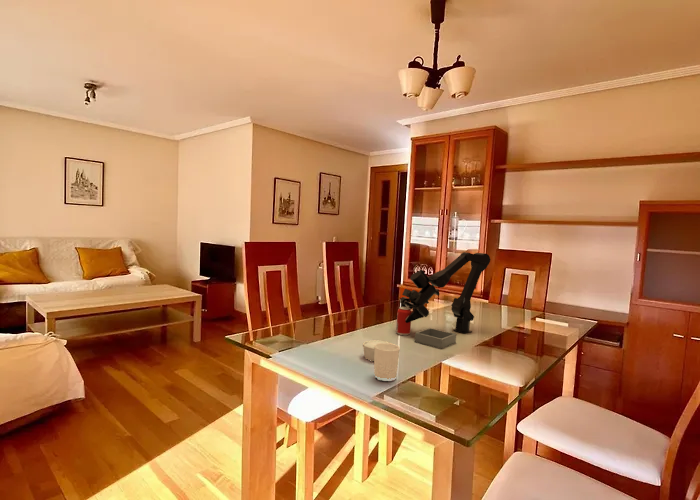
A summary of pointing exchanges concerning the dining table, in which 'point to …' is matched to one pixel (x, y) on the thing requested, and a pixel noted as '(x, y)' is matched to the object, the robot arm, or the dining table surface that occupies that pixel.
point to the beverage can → (403, 321)
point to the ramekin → (371, 348)
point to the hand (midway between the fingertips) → (401, 319)
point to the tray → (435, 338)
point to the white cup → (386, 360)
